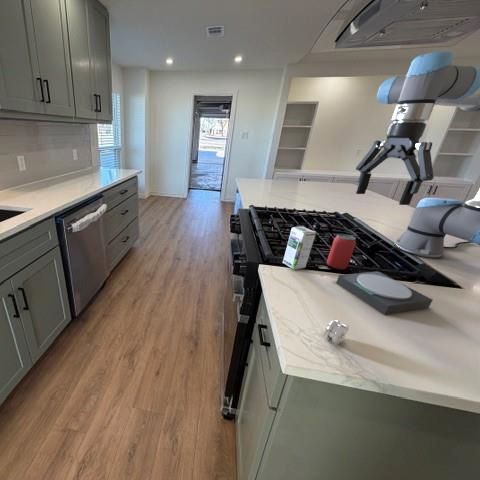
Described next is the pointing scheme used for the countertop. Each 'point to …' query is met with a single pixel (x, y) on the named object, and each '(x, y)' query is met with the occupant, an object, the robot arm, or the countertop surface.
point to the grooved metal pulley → (336, 331)
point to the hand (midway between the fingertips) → (380, 198)
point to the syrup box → (299, 247)
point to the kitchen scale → (383, 292)
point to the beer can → (341, 251)
